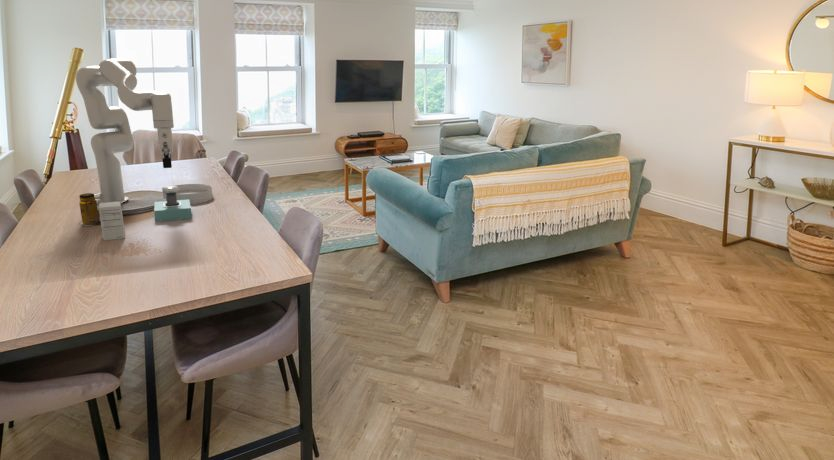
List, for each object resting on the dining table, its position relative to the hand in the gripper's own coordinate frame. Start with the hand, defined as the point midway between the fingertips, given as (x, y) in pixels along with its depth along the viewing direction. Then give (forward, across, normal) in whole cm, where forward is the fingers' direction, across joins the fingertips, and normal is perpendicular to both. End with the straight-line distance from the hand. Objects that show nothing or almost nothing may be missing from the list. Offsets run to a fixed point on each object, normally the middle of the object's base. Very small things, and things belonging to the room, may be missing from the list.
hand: (167, 165), depth 245 cm
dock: (+21, -1, 0) cm, 21 cm away
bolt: (+21, -1, 0) cm, 21 cm away
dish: (+22, +28, -8) cm, 37 cm away
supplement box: (+21, -26, +20) cm, 39 cm away
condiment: (+22, -3, +30) cm, 37 cm away
